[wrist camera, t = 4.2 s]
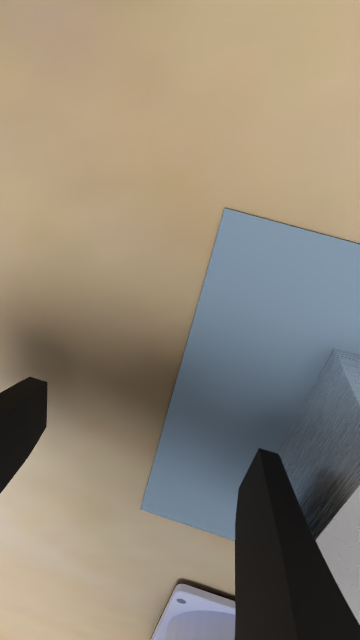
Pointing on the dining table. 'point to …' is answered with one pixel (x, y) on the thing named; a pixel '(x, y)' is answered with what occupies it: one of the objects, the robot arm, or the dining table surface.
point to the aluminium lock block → (330, 468)
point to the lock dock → (250, 361)
